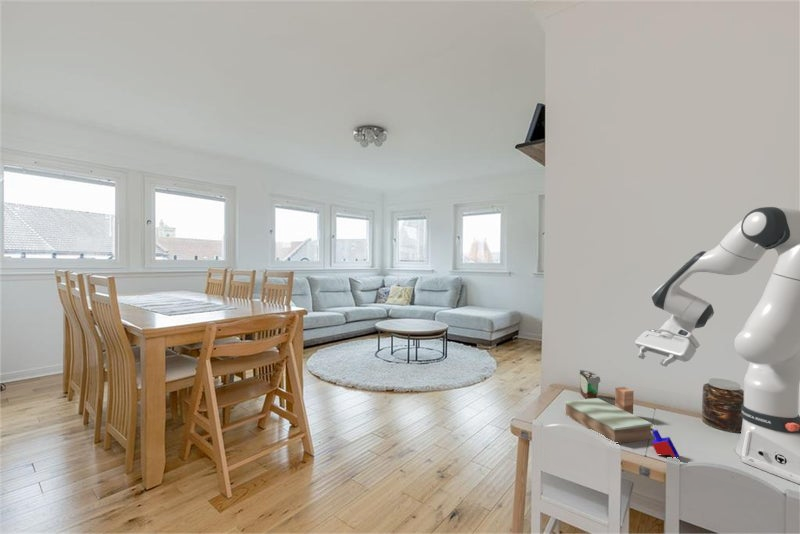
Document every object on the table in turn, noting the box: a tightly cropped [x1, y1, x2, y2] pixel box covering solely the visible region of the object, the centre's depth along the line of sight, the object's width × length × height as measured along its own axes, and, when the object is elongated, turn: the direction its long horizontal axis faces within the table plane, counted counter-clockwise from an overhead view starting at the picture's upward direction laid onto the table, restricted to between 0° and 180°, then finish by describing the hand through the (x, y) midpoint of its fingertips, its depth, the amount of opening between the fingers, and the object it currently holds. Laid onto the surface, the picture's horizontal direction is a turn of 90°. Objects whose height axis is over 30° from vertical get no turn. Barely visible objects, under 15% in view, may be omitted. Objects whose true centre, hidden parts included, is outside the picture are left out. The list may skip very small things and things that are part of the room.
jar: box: [701, 377, 744, 434], centre depth 128 cm, size 12×12×15 cm
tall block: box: [614, 386, 634, 415], centre depth 135 cm, size 4×4×10 cm
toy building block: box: [651, 429, 680, 458], centre depth 108 cm, size 4×4×8 cm
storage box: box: [564, 397, 653, 444], centre depth 127 cm, size 23×15×5 cm, turn 14°
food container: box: [579, 369, 601, 399], centre depth 152 cm, size 12×6×10 cm, turn 168°
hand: (651, 361), depth 138 cm, fingers open, 8 cm apart
